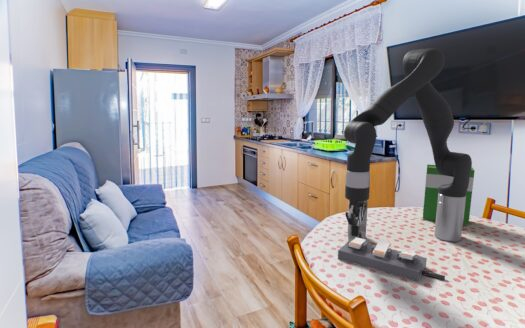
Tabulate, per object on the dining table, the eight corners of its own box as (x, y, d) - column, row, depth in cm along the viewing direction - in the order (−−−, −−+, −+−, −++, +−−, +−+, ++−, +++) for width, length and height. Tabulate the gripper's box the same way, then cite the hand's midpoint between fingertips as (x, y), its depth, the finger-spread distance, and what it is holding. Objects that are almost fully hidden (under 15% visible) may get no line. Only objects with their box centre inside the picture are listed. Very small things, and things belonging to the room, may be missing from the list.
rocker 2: (379, 242, 112) (379, 240, 111) (390, 245, 110) (390, 242, 109) (372, 254, 107) (372, 251, 106) (384, 257, 104) (384, 254, 104)
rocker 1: (356, 239, 116) (356, 236, 116) (366, 242, 114) (366, 239, 114) (348, 246, 111) (348, 243, 111) (359, 249, 109) (359, 245, 109)
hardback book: (422, 219, 150) (427, 167, 146) (422, 214, 157) (427, 164, 153) (468, 225, 143) (474, 170, 138) (466, 220, 149) (472, 167, 145)
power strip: (350, 247, 120) (350, 234, 119) (447, 272, 102) (448, 257, 102) (337, 258, 112) (338, 244, 111) (441, 288, 94) (443, 271, 93)
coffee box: (347, 234, 133) (348, 195, 130) (363, 235, 132) (365, 196, 129) (348, 243, 124) (350, 201, 121) (366, 244, 123) (368, 202, 120)
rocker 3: (404, 254, 107) (404, 250, 107) (416, 257, 105) (416, 253, 105) (398, 256, 101) (399, 253, 101) (411, 259, 99) (412, 256, 99)
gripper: (361, 190, 99) (359, 245, 102) (375, 181, 110) (373, 231, 113) (338, 186, 104) (336, 239, 107) (353, 179, 114) (351, 227, 117)
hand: (355, 235), depth 110 cm, fingers closed
